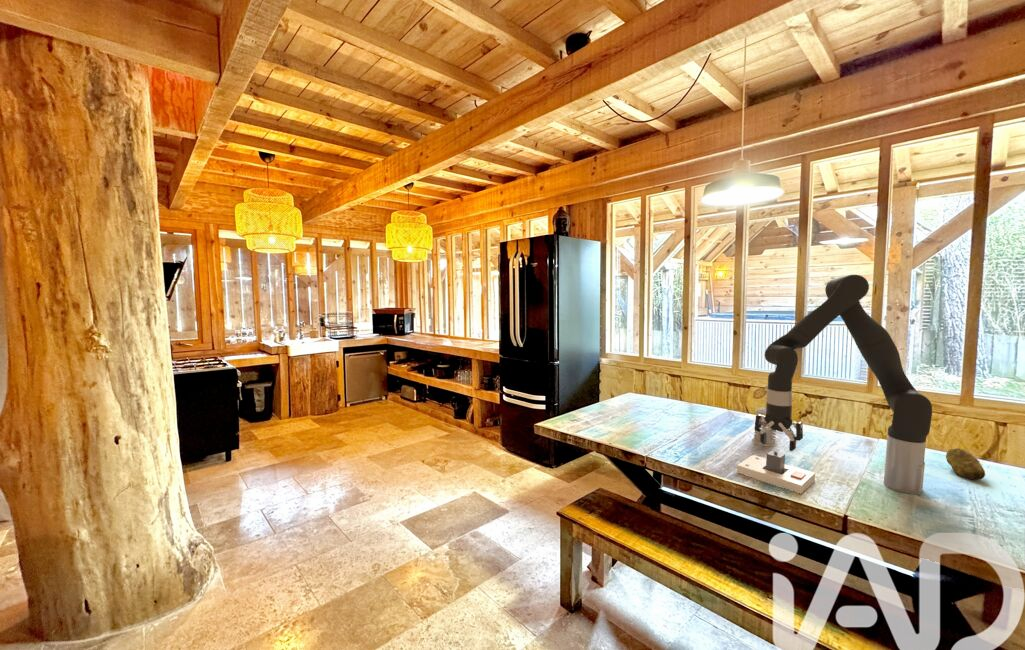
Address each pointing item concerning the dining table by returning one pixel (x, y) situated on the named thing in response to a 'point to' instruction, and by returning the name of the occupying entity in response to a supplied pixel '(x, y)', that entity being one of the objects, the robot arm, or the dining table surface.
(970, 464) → the potato
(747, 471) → the socket plate
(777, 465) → the plug
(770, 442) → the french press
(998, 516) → the dining table surface
